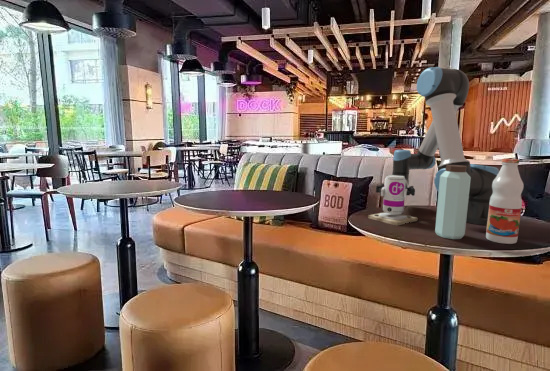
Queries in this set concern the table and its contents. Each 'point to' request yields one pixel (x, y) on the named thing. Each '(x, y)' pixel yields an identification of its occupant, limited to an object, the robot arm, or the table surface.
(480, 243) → the table surface
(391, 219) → the dock board
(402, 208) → the supplement can
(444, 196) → the water bottle
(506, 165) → the fruit juice
